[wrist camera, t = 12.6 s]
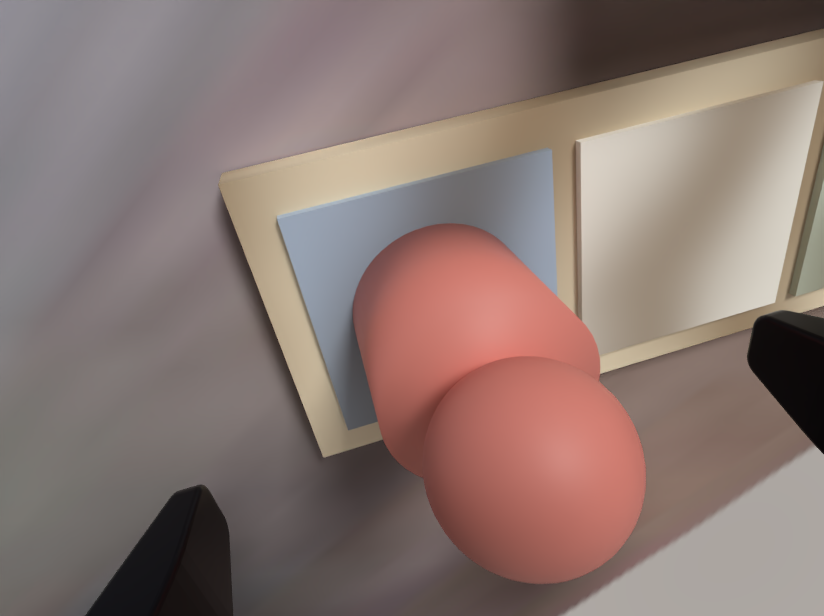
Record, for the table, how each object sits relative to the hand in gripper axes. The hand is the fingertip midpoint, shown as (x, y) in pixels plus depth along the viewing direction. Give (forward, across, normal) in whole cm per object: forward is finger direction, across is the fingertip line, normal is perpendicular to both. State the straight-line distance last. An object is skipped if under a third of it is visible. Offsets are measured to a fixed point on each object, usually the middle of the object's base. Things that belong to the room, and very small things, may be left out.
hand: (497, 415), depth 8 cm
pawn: (+4, 0, 0) cm, 4 cm away
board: (+5, -9, 0) cm, 10 cm away
